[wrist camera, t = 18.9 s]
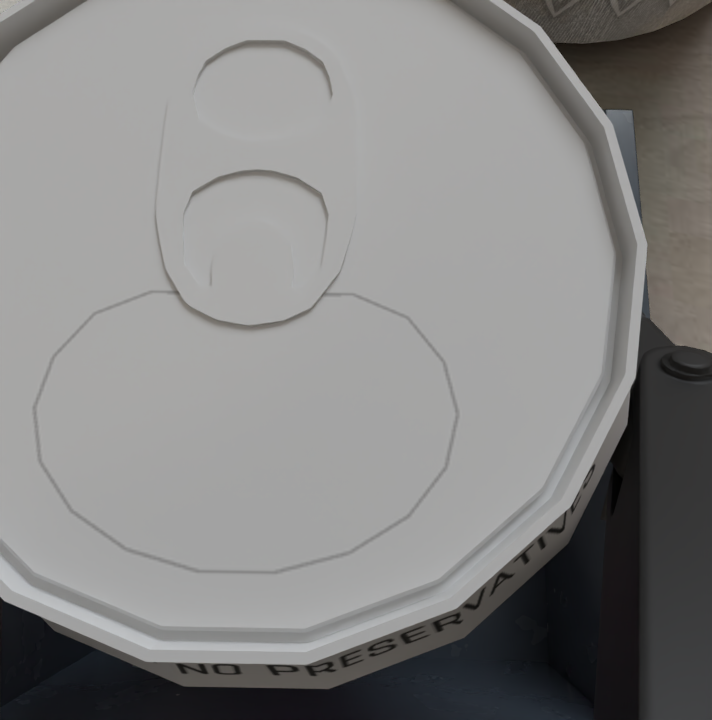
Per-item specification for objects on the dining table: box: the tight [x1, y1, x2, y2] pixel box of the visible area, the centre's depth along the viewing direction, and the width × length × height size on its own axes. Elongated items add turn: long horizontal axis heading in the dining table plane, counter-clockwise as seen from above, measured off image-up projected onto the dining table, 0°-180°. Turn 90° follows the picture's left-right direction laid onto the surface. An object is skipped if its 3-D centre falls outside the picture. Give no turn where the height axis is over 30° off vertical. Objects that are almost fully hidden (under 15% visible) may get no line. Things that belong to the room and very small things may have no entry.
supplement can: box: [0, 0, 647, 689], centre depth 13 cm, size 8×8×15 cm
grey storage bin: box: [0, 109, 650, 720], centre depth 18 cm, size 17×17×8 cm
